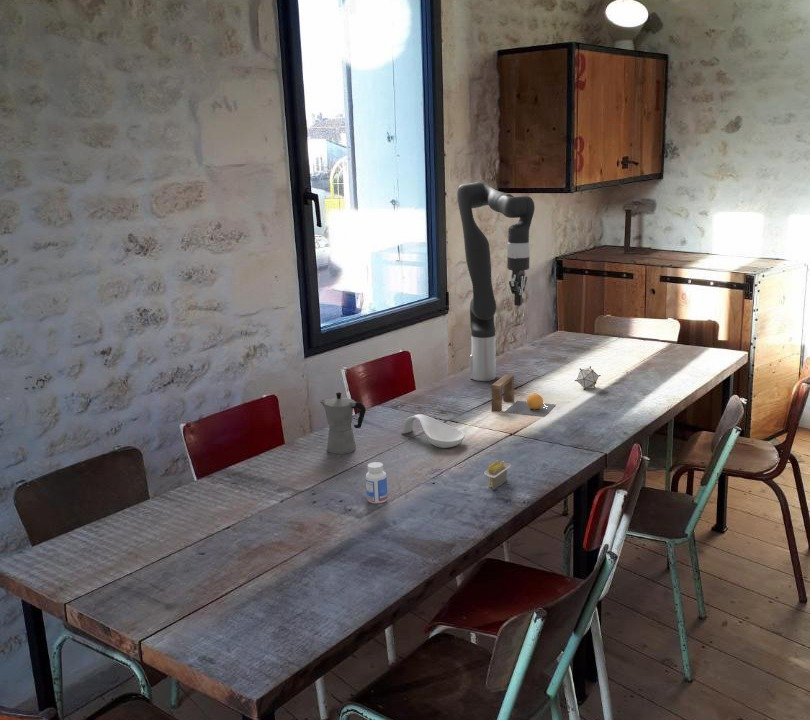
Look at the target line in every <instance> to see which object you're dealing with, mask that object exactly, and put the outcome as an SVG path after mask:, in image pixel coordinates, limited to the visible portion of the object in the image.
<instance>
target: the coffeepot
mask: <svg viewBox="0 0 810 720" xmlns="http://www.w3.org/2000/svg"><path fill="white" fill-rule="evenodd" d="M335 395H336V397H333V398H330V399H328V398H327V399H323V400H320V401H319V403H320V404H321V406H323V408H324V410H325V415H326V420H327V424H328V425H329V430H328V437H327V443H326V445H327V446H326V451H327V452H328V453H330V454H336V455H345V454H349V453H352V452H354V451H355V450H356V446H357V444H356V441H355V440H356V439H355V435H354V431H353V427H354V428H355V429H361V427H362V425H363V421H364V418H365V414H366V410H367V409H366V407H365V405H364V404H363V403H362V402H359V401H355V400H354V399H351V398H349V397H342V392H336V393H335ZM354 409H359V410H360V411H359V414H358V418H357V424H354V425H353V427H352V423H353V414H354Z"/></svg>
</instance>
